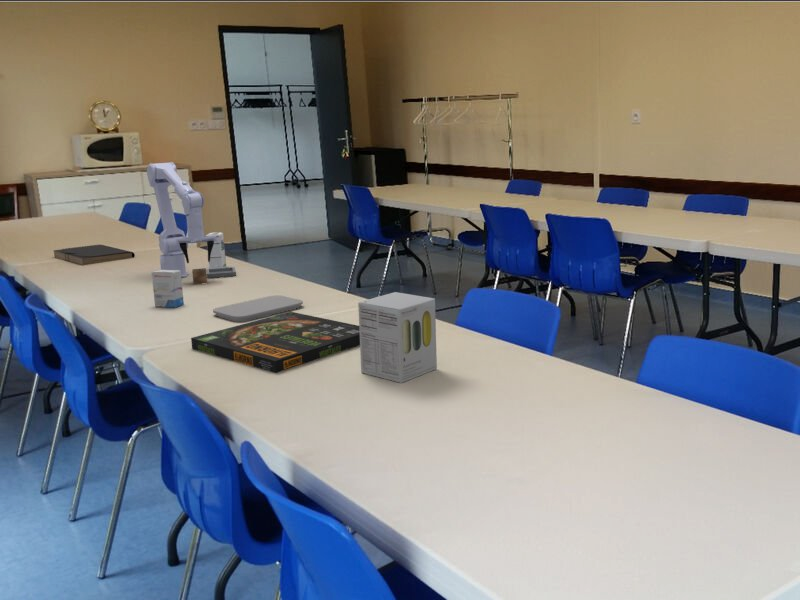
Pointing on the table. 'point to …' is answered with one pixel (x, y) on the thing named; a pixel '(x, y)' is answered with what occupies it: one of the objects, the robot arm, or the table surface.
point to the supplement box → (397, 336)
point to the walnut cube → (199, 276)
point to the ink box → (167, 288)
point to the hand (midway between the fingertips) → (198, 262)
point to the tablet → (257, 308)
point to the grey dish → (221, 272)
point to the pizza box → (280, 341)
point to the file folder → (92, 254)
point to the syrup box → (217, 252)
